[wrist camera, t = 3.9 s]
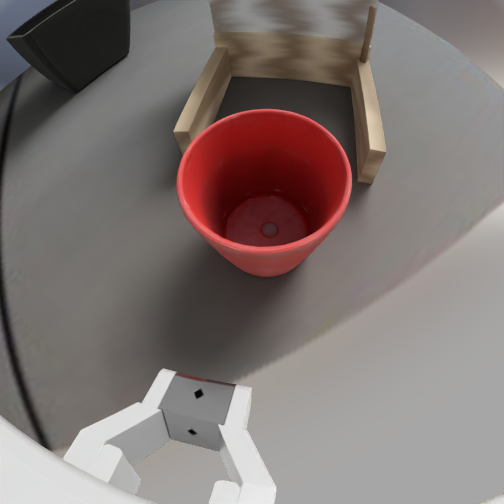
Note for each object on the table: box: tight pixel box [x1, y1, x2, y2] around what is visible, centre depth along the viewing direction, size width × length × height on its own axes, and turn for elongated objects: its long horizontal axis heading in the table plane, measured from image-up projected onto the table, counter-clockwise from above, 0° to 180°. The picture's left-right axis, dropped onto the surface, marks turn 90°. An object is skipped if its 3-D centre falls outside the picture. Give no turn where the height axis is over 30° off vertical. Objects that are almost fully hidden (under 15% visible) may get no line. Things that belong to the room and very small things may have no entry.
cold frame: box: [173, 0, 386, 184], centre depth 23 cm, size 19×18×18 cm
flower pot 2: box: [176, 109, 352, 277], centre depth 21 cm, size 11×11×10 cm
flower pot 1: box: [6, 0, 130, 92], centre depth 34 cm, size 19×19×17 cm
